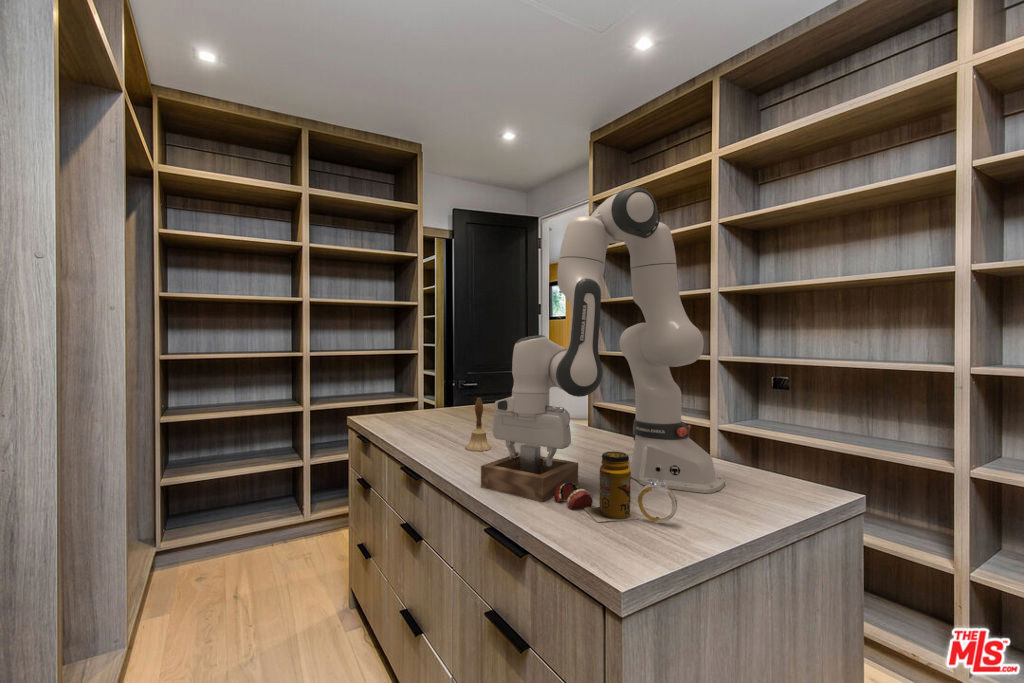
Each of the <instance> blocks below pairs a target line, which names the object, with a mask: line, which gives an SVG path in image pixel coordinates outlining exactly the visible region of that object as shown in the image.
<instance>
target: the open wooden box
mask: <svg viewBox="0 0 1024 683" xmlns="http://www.w3.org/2000/svg"><path fill="white" fill-rule="evenodd" d="M518 456H519V458H518V460H511V459H510V455H509V456H506V457H503V458H500V459H497V460H495V461H491V462H488V463H485V464H482V465H480V487H481V488H483V489H487V490H491V491H496V492H500V493H504V494H509V495H513V496H516V497H521V498H523V499H524V498H525V499H529V500H534V501H538V502H542V503H544V502H546V501H547V500H550V499H551V498H554V496H555V490H556V488H557V486H558V485H560V484H562V483H568V482H570V483H573V484H575V485H576V486H577V485H578V484H579V462H577V461H571V460H566V459H561V458H560V459H559V458H554V457H553V458H552V465H551V466H549V467H548V466H544V465H543V458H545V457H546V456H542V455H540V474H541V475H539V474H534V473H529V472H524V471H520V453H519V455H518Z"/></svg>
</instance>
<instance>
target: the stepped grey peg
mask: <svg viewBox="0 0 1024 683" xmlns="http://www.w3.org/2000/svg"><path fill="white" fill-rule="evenodd" d="M540 456H541V446H535V445H529V444H525V445H522V446H520V471H524V472H529V473H534V474H539V475H541V474H540Z"/></svg>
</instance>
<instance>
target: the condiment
mask: <svg viewBox="0 0 1024 683" xmlns="http://www.w3.org/2000/svg"><path fill="white" fill-rule="evenodd" d="M629 459H630V456H629V454H627V453H626V452H622V451H614V450H613V451H605V452H603V453H602V455H601V461H600V462H601V466H600V467H599V506H594V507H590V506H586V507H583V509H584V510H585V512H587V514H589V516H590V517H591V518H592V519H594V521H596V522H597V523H601V522H604V523H605V522H612V521H613V522H615V521H617V522H618V521H621V522H622V521H629V520H630V521H631V520H637V519H639V517H637V516H636V515H634V514H633V513H632V512H631V503H632V502H631V498H632V497H631V491H632V490H631V487H632V485H631V480H632V477H631V470H630V460H629Z"/></svg>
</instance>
